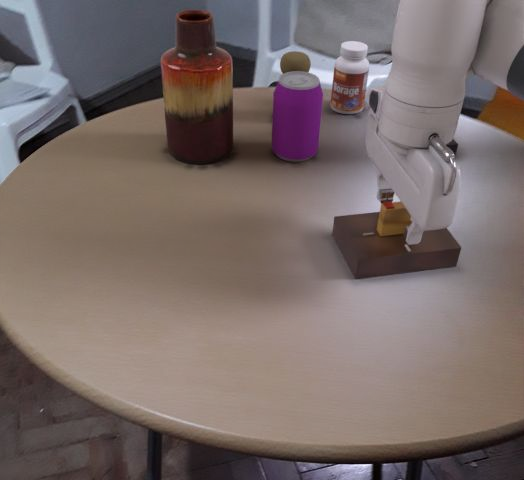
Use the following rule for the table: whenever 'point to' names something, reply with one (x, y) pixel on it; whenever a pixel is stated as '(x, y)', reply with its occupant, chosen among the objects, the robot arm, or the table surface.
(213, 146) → the vase
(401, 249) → the plate
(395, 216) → the thumb turn
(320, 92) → the beverage can
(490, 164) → the table surface
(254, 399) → the table surface
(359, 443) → the table surface
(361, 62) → the pill bottle
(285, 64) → the cork
